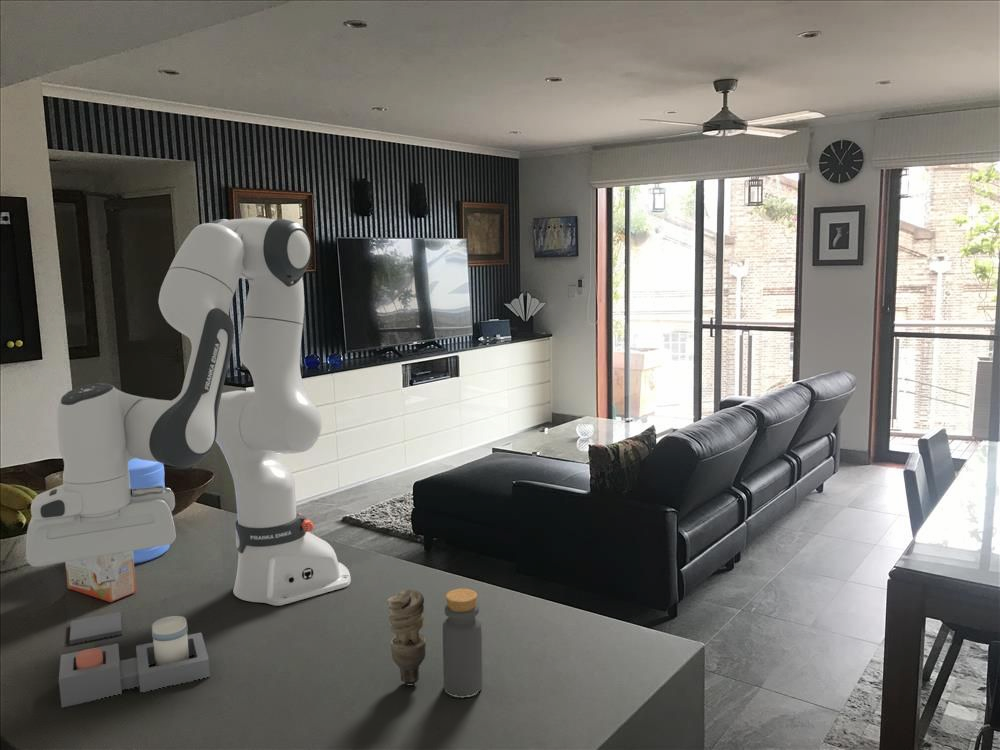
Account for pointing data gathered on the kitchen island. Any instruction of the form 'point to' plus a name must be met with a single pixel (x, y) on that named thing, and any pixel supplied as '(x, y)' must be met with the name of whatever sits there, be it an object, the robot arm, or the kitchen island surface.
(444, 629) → the bottle
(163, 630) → the cartridge
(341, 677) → the kitchen island surface
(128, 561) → the cracker box
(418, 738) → the kitchen island surface
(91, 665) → the plunger
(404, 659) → the light bulb
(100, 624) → the pad
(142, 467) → the water jug
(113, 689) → the housing
